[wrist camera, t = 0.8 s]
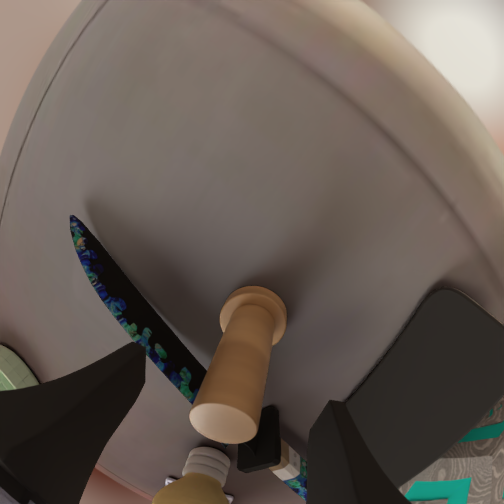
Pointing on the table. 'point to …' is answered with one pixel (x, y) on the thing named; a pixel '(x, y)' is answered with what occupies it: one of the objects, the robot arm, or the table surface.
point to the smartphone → (431, 384)
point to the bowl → (14, 371)
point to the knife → (180, 358)
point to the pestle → (239, 366)
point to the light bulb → (198, 480)
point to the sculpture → (466, 468)
